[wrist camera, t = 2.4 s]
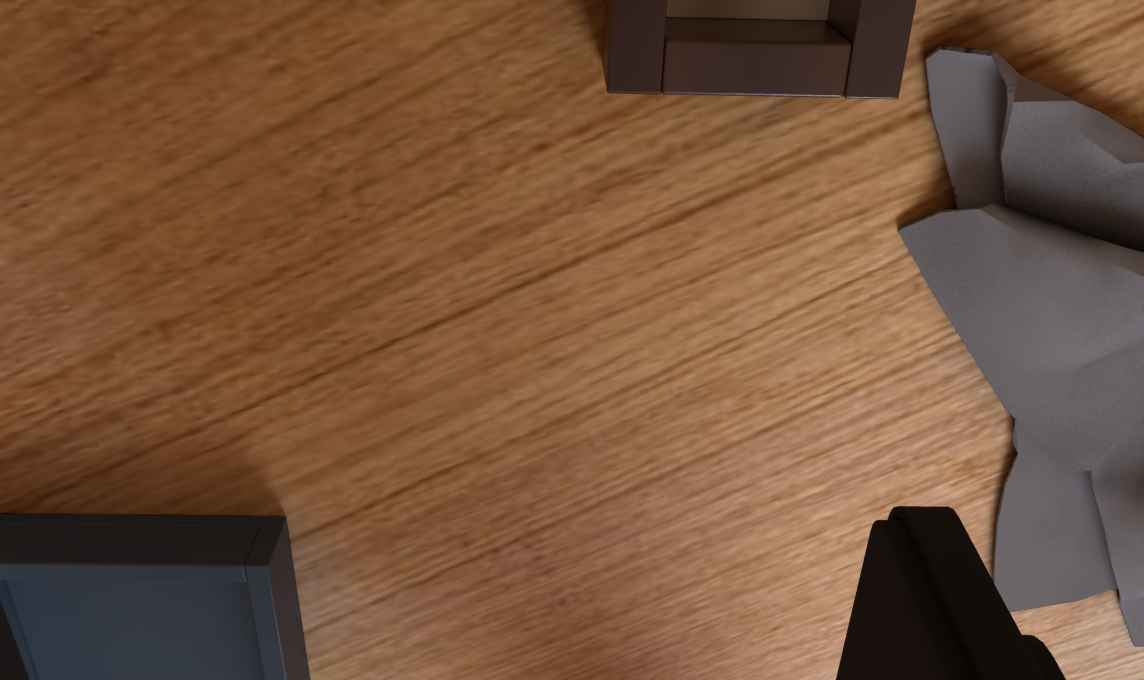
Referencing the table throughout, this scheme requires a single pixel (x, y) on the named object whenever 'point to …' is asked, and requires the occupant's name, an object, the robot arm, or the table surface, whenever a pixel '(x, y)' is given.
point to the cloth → (1047, 319)
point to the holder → (152, 597)
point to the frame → (757, 47)
